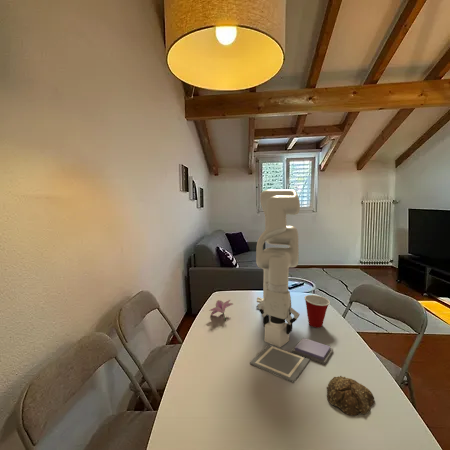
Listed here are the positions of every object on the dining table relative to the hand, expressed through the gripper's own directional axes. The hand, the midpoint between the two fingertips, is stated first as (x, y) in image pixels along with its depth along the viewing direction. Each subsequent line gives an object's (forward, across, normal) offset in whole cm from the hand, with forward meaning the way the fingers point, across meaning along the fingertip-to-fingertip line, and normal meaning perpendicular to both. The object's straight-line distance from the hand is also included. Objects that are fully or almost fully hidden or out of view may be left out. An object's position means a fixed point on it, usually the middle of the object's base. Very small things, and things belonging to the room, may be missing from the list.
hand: (277, 329), depth 110 cm
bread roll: (+6, +30, -15) cm, 34 cm away
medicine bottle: (+5, 0, +1) cm, 5 cm away
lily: (+5, -31, +4) cm, 32 cm away
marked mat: (+6, +7, -11) cm, 14 cm away
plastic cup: (+5, +8, +24) cm, 25 cm away
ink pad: (+5, +14, +2) cm, 15 cm away
